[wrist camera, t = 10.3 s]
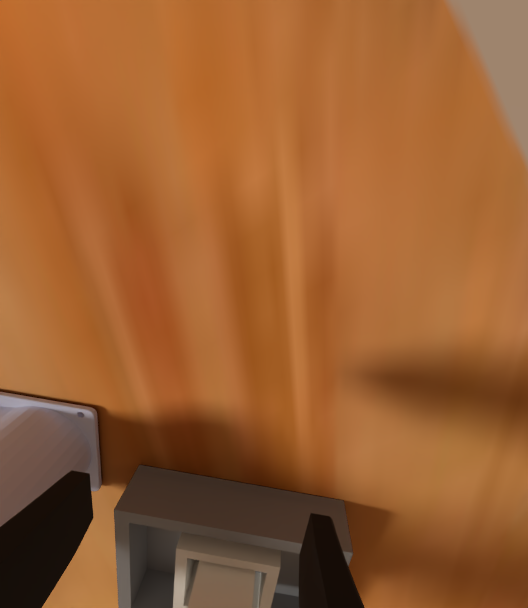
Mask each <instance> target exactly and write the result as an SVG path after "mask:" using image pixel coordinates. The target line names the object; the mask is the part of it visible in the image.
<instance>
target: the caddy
mask: <svg viewBox="0 0 528 608" xmlns="http://www.w3.org/2000/svg"><path fill="white" fill-rule="evenodd" d="M311 513H314V514H320V515H325V516H330V517H331V518H332V520H333V523H334V526H335V529H336V533H337V536H338V539H339V542H340V545H341V548H342V551H343V553H344V556H345V559H346V562H347V564H348V566H349V563H350V560H351V558H352V555H353V550H352V544H351V538H350V533H349V527H348V522H347V516H346V510H345V505H344V501H343V500H337V499H331V498H326V497H320V496H314V495H309V494H303V493H297V492H292V491H286V490H280V489H275V488H269V487H263V486H258V485H252V484H246V483H240V482H235V481H229V480H223V479H218V478H212V477H206V476H201V475H195V474H189V473H184V472H178V471H172V470H167V469H161V468H155V467H150V466H144V465H139V466H138V468H137V470H136V472H135V473H134V475H133V477H132V479H131V481H130V482H129V484H128V486H127V488H126V489H125V491H124V493H123V495H122V496H121V498H120V500H119V502H118V503H117V505H116V507H115V509H114V520H115V541H116V562H117V583H118V604H119V608H188V604H189V600H190V596H191V592H192V588H193V584H194V580H195V576H196V572H197V568H198V564H199V560H200V561H205V562H211V563H216V564H221V565H227V566H232V567H237V568H243V569H248V570H254V571H255V580H254V591H253V601H252V608H299V554H300V551H301V547H302V543H303V539H304V536H305V532H306V528H307V525H308V521H309V517H310V514H311Z"/></svg>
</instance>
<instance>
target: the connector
mask: <svg viewBox="0 0 528 608" xmlns="http://www.w3.org/2000/svg"><path fill="white" fill-rule="evenodd" d="M254 580H255V571H254V570H248V569H243V568H237V567H232V566H227V565H221V564H216V563H211V562H205V561H200V560H199V564H198V568H197V572H196V576H195V580H194V584H193V588H192V592H191V596H190V600H189V604H188V608H252V601H253V591H254Z"/></svg>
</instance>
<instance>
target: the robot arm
mask: <svg viewBox="0 0 528 608" xmlns="http://www.w3.org/2000/svg"><path fill="white" fill-rule="evenodd" d="M101 485H102V480H101V465H100V449H99V434H98V418H97V411H96V410H95V409H94V408H92V407H87V406H81V405H75V404H69V403H64V402H58V401H52V400H46V399H40V398H34V397H29V396H23V395H17V394H11V393H5V392H0V608H42V606H43V605H44V603H45V601H46V600H47V598H48V597H49V595H50V593H51V592H52V590H53V589H54V587H55V586H56V584H57V582H58V581H59V579H60V577H61V576H62V574H63V573H64V571H65V569H66V568H67V566H68V565H69V563H70V561H71V560H72V558H73V556H74V555H75V553H76V551H77V549H78V547H79V545H80V543H81V541H82V539H83V537H84V535H85V533H86V531H87V529H88V527H89V525H90V523H91V521H92V519H93V508H92V495H91V491H98V490H99V489H100V487H101ZM299 608H364V605H363V603H362V600H361V598H360V596H359V593H358V591H357V588H356V586H355V583H354V580H353V578H352V575H351V573H350V570H349V567H348V564H347V562H346V559H345V556H344V553H343V551H342V548H341V545H340V542H339V539H338V536H337V533H336V529H335V526H334V523H333V520H332V518H331V517H330V516H325V515H320V514H314V513H311V514H310V517H309V521H308V525H307V528H306V532H305V536H304V539H303V543H302V547H301V551H300V554H299Z"/></svg>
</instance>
